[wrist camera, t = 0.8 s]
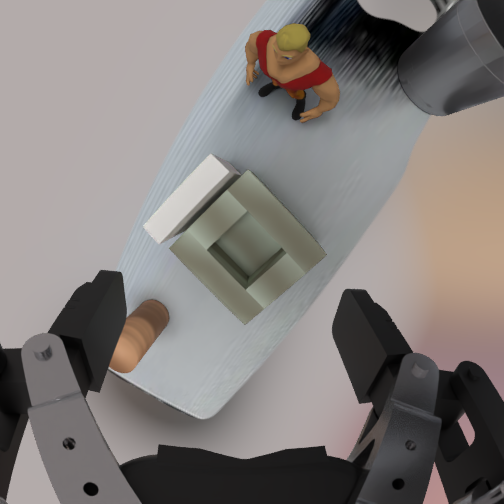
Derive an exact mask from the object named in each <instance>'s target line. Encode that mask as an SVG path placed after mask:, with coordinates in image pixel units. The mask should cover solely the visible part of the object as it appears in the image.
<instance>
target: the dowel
mask: <svg viewBox="0 0 504 504" xmlns="http://www.w3.org/2000/svg"><path fill="white" fill-rule="evenodd" d="M168 322H169V313H168V311H167V309H166V307H165V306H164V305H163V304H162V303H160V302H159V301H156V300H147V301H145V302H143V303H142V304H141V305H140V306H139V307H138V308H137V309H136V310H135V311H133V312H132V313H131V314H130V315H129V316H128V317H127V318H126V322H125V325H124V328H123V330H122V333H121V335H120V338H119V340H118V343H117V346H116V348H115V351H114V354H113V356H112V359H111V362H110V364H109V367H110V368H112V369H113V370H115V371H117V372H120V373H129V372H131V371H132V370H133V369H134V368H135V367H136V365H137V364H138V363H139V361H140V360H141V359H142V357H143V356H144V355H145V353H146V352H147V351H148V349H149V348H150V347H151V345H152V344H153V343H154V341H155V340H156V339H157V337H158V336H159V335H160V333H161V332H162V331H163V330H164V328H165V327H166V326H167V324H168Z"/></svg>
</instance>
